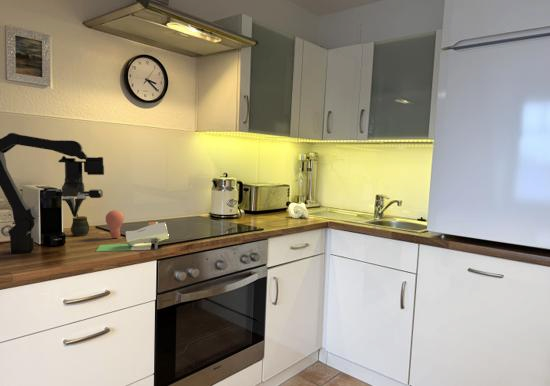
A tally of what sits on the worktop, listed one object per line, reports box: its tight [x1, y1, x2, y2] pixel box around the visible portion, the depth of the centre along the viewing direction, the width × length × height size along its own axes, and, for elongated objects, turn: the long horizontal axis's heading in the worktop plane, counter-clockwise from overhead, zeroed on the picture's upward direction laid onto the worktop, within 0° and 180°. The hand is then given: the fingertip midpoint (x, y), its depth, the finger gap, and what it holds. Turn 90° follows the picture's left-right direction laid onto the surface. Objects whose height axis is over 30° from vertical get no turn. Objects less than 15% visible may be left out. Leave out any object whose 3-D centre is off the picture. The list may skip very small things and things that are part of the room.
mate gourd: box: [70, 213, 90, 237], centre depth 167 cm, size 7×8×10 cm
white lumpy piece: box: [288, 202, 309, 219], centre depth 234 cm, size 11×12×9 cm
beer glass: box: [125, 221, 170, 247], centre depth 149 cm, size 7×7×15 cm
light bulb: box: [105, 209, 125, 239], centre depth 163 cm, size 7×7×12 cm
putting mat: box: [95, 221, 159, 253], centre depth 147 cm, size 22×10×9 cm, turn 106°
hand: (74, 216), depth 143 cm, fingers closed
